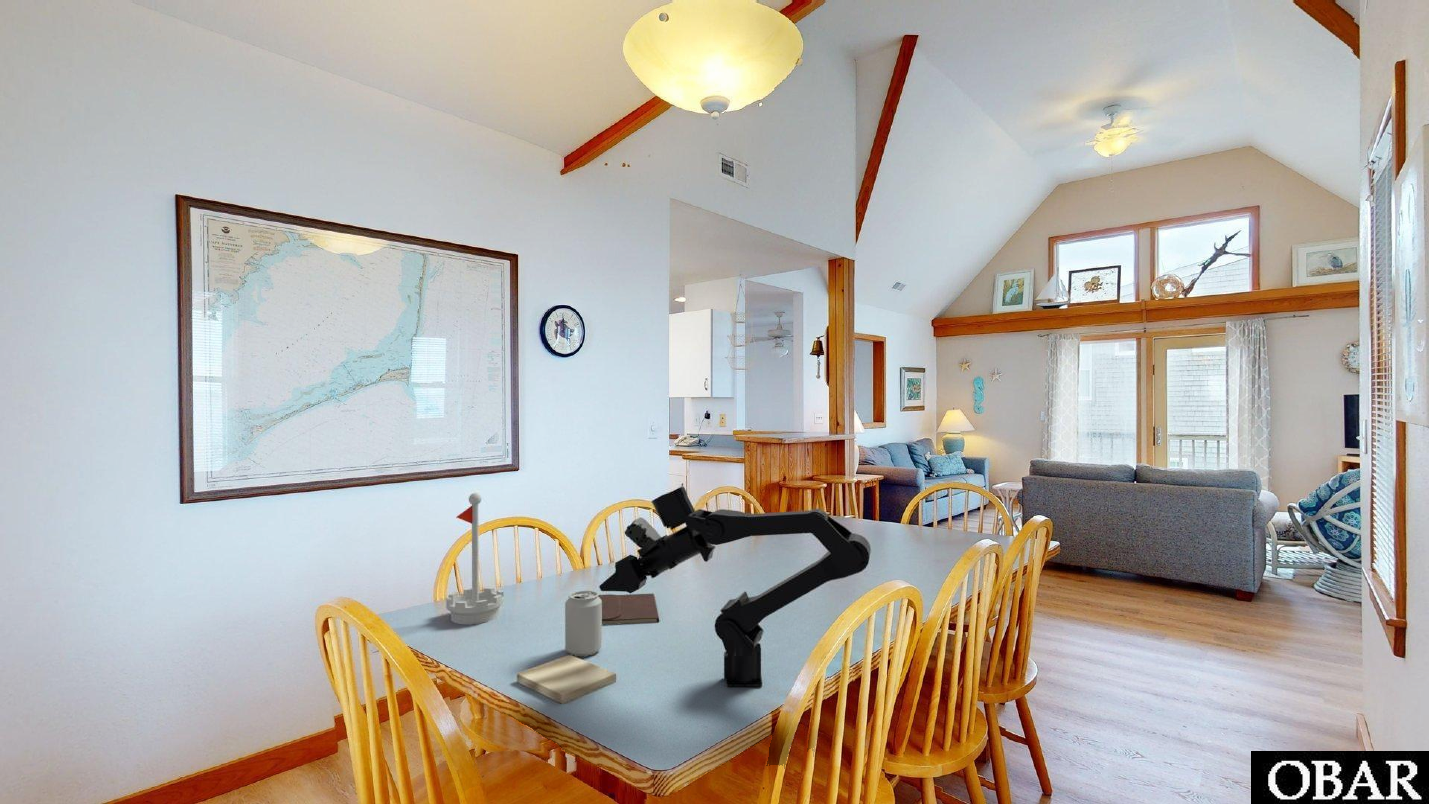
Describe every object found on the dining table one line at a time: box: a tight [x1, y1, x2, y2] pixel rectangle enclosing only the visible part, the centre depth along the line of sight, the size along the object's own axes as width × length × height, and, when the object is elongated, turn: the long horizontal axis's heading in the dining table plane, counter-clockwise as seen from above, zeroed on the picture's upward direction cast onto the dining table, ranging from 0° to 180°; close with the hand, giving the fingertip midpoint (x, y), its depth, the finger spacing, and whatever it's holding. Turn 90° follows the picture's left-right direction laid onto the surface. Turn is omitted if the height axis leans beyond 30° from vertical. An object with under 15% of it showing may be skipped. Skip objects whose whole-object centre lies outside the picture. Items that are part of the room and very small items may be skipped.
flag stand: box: [445, 492, 505, 625], centre depth 161 cm, size 13×13×30 cm
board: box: [516, 654, 617, 704], centre depth 123 cm, size 14×12×2 cm
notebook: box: [598, 593, 660, 625], centre depth 165 cm, size 15×20×2 cm
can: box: [564, 590, 603, 657], centre depth 138 cm, size 8×8×12 cm
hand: (610, 582), depth 131 cm, fingers open, 9 cm apart
